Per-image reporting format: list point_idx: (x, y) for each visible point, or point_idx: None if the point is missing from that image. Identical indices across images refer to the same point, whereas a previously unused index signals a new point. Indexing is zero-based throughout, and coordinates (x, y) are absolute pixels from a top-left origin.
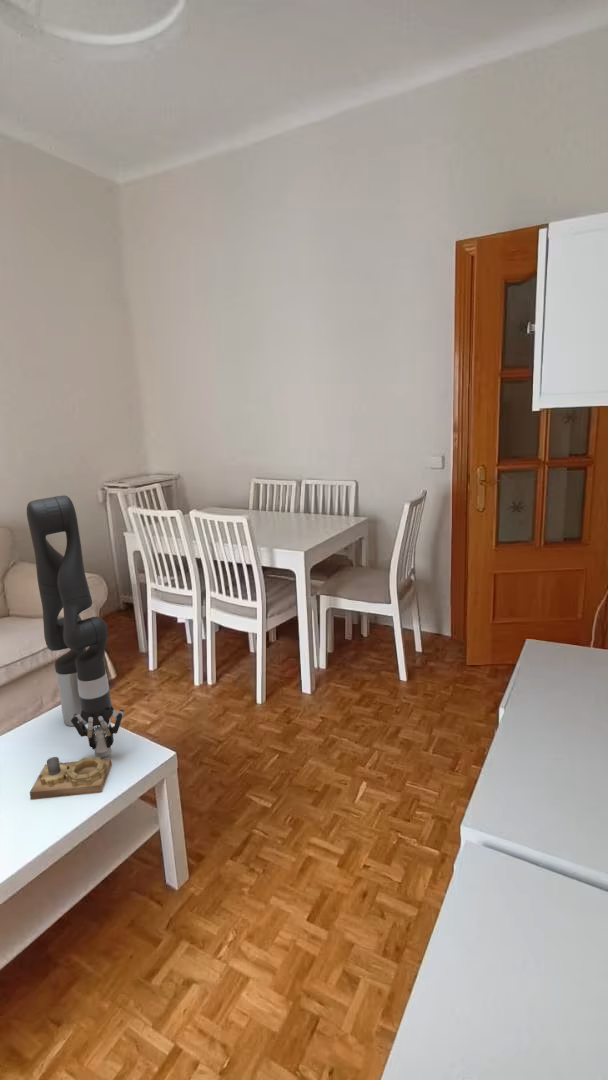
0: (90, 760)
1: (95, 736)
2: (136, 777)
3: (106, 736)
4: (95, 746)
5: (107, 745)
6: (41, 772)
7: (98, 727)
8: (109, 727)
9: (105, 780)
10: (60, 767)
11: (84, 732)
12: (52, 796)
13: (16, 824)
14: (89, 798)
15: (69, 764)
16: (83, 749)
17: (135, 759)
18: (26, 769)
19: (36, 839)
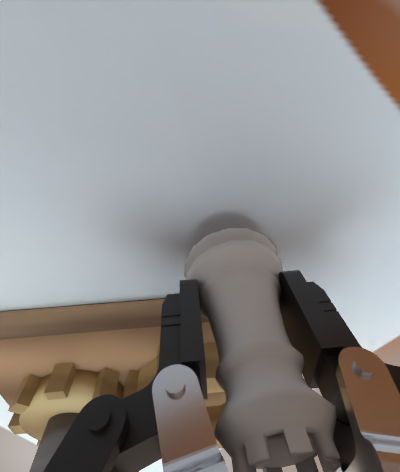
0: (211, 392)
1: (221, 387)
2: (365, 346)
3: (312, 387)
4: (200, 309)
5: (283, 322)
6: (13, 428)
7: (268, 450)
8: (374, 408)
9: None
10: (81, 409)
11: (134, 470)
12: None
13: None
14: None
15: (93, 344)
16: (67, 160)
17: (375, 265)
18: None
19: (150, 468)
